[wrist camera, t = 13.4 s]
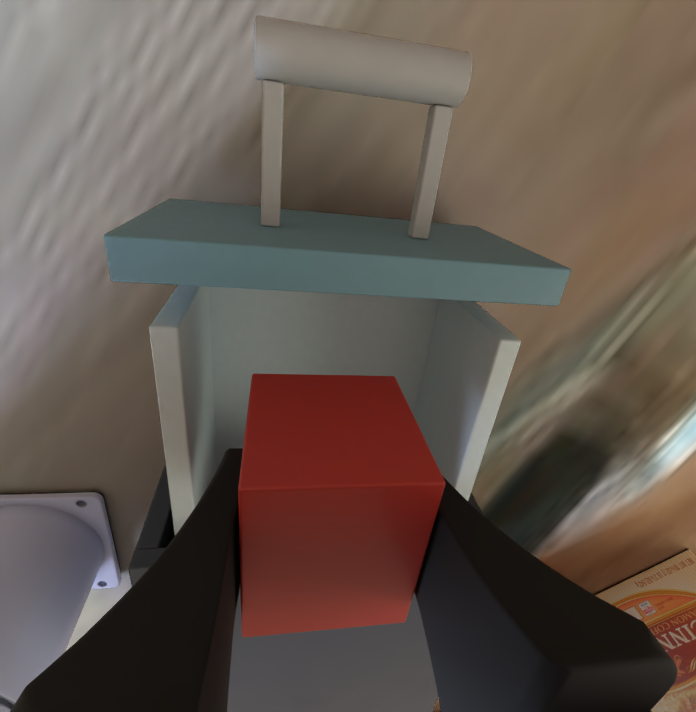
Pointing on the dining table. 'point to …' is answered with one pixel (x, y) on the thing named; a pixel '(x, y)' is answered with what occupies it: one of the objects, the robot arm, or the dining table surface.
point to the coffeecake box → (666, 620)
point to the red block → (331, 503)
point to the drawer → (330, 277)
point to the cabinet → (313, 652)
